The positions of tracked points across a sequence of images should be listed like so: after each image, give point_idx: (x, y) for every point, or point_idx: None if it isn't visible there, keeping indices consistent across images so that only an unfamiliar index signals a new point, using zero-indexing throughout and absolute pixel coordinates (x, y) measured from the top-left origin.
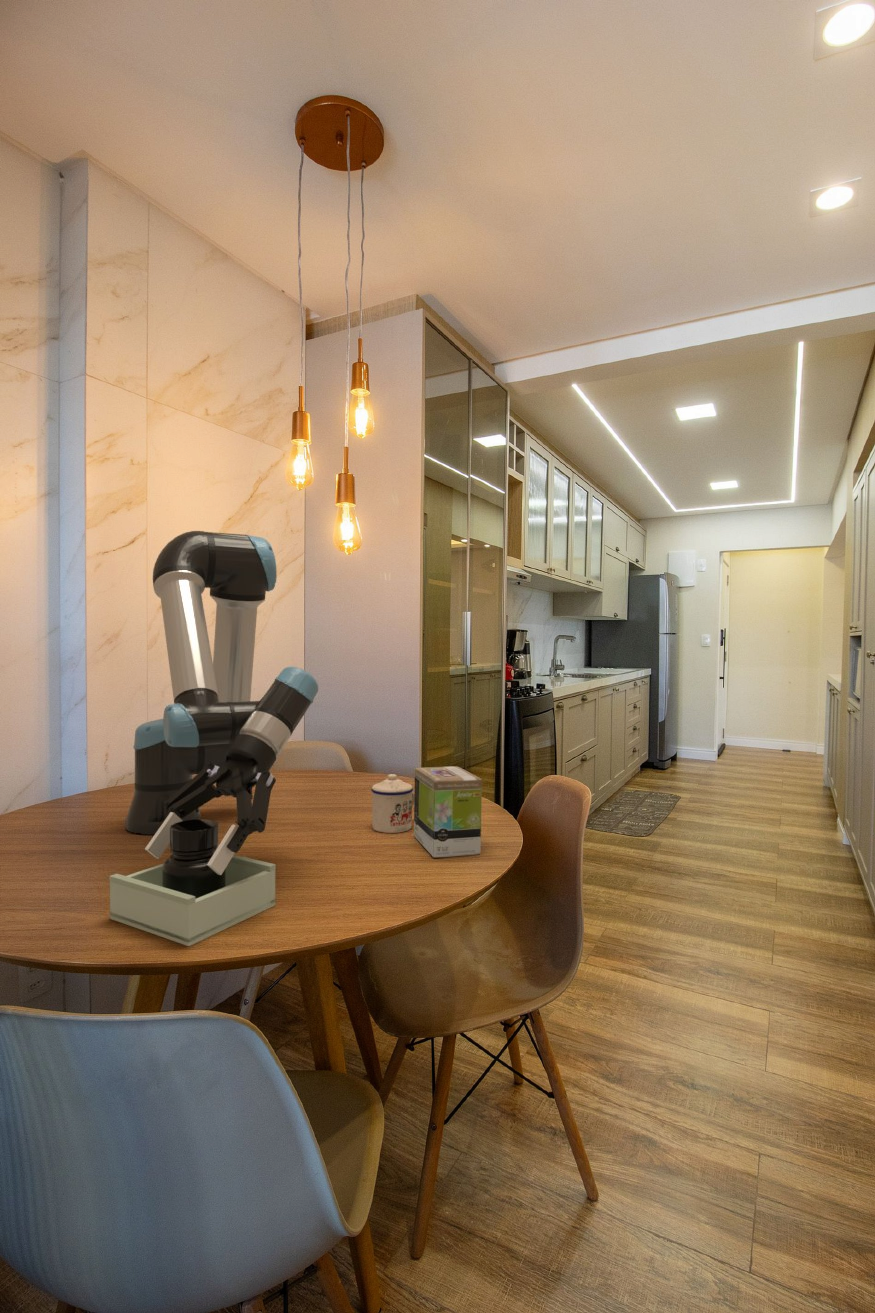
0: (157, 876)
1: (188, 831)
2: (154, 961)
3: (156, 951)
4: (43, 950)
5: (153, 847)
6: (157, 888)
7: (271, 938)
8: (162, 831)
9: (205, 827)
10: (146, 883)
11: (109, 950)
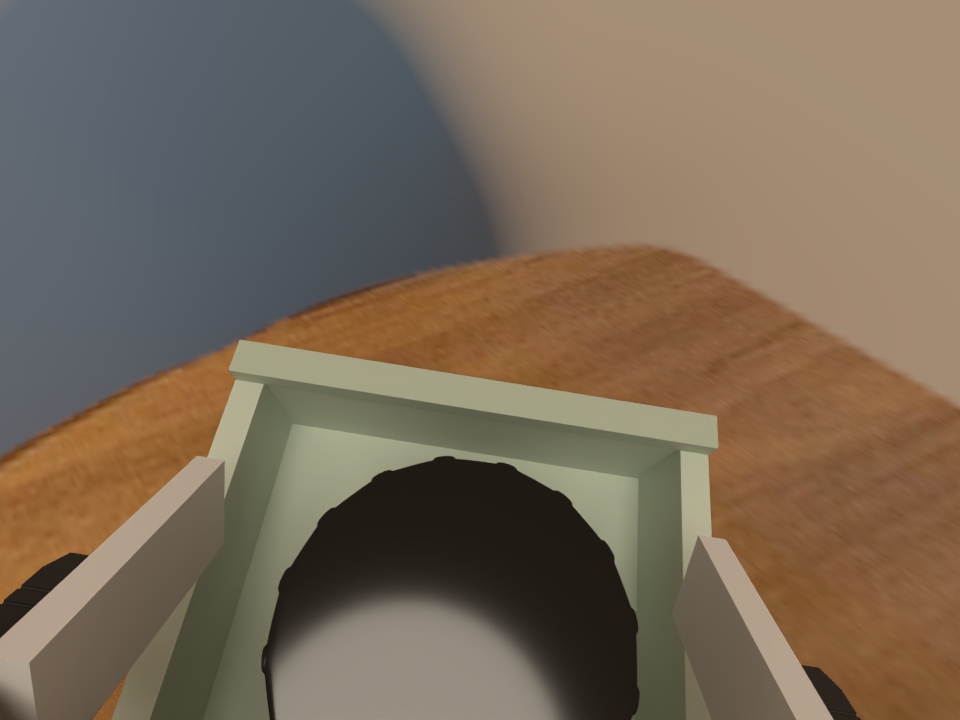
0: (668, 639)
1: (378, 476)
2: (319, 316)
3: (353, 357)
4: (623, 273)
5: (702, 572)
6: (429, 381)
7: (34, 553)
8: (745, 640)
9: (322, 618)
10: (512, 406)
11: (476, 321)
